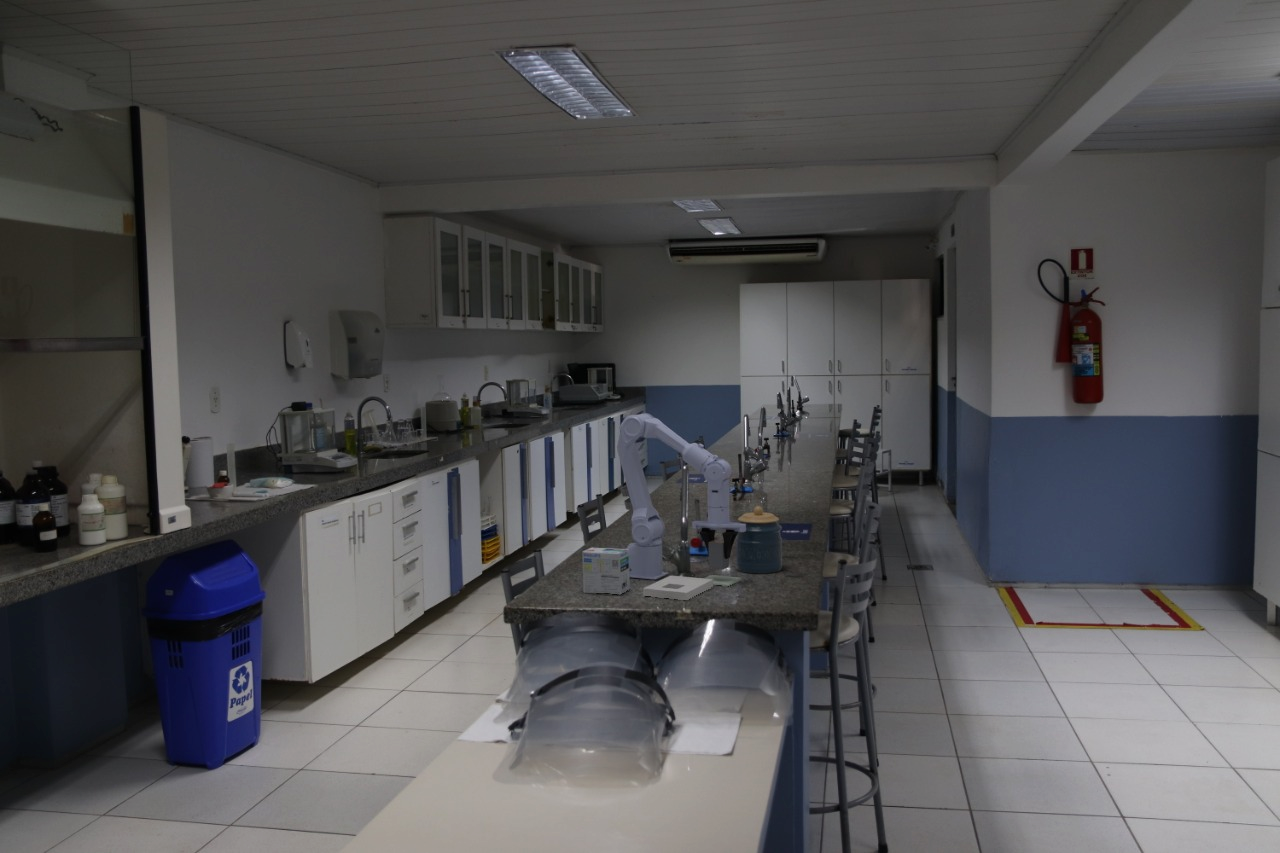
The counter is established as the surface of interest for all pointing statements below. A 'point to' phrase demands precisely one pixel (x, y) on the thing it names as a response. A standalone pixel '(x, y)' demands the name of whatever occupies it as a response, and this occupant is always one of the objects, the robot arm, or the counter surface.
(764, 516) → the canister
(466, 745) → the counter surface
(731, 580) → the mat
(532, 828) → the counter surface
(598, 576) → the light bulb box
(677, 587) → the plate
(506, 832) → the counter surface
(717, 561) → the plug
